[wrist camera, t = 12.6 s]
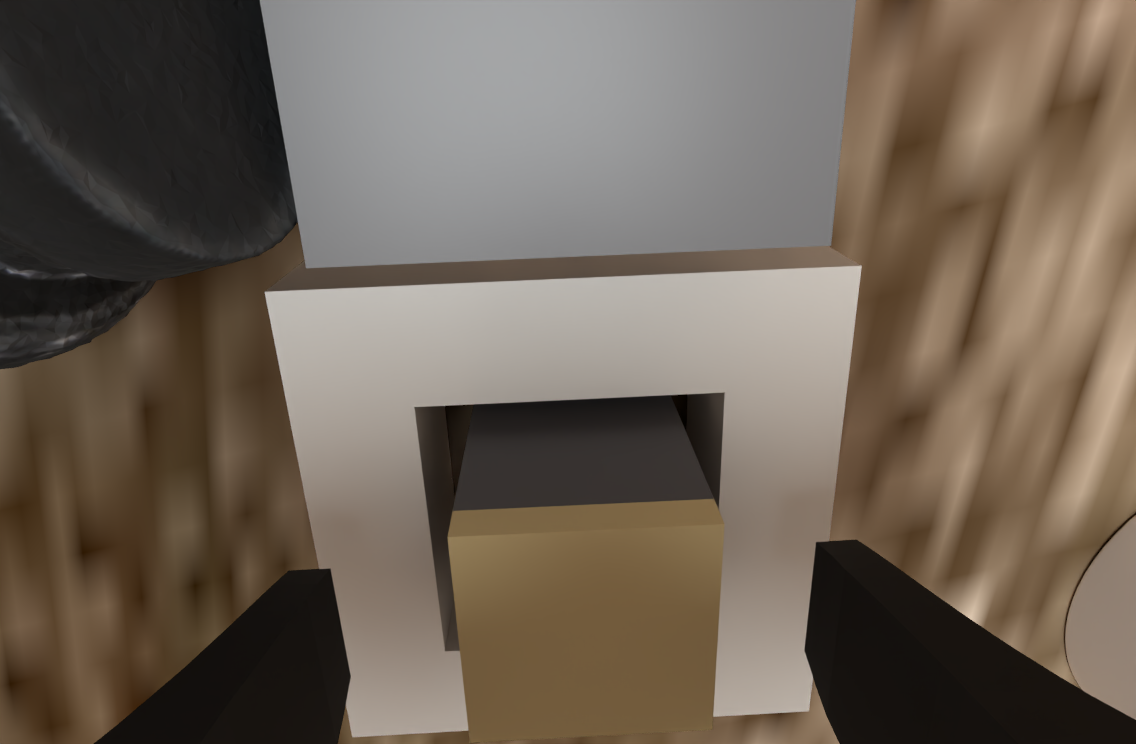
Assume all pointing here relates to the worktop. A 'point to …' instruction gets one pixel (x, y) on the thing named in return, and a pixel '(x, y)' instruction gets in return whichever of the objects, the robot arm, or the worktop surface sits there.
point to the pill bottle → (129, 158)
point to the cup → (1107, 624)
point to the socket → (563, 372)
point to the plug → (585, 571)
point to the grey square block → (558, 125)
